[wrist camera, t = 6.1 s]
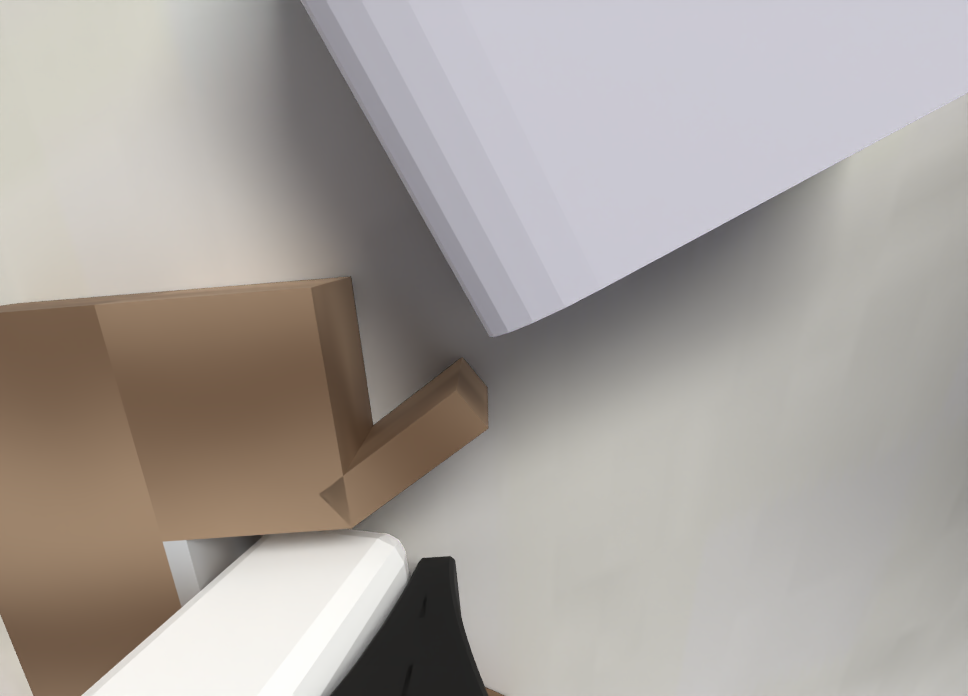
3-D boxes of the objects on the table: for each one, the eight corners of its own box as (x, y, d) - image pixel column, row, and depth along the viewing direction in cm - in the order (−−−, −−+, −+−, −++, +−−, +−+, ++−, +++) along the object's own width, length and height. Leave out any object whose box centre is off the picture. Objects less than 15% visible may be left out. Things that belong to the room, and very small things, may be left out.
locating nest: (518, 772, 14) (526, 882, 12) (180, 792, 14) (118, 904, 12) (477, 266, 10) (475, 274, 8) (19, 303, 11) (-119, 321, 8)
